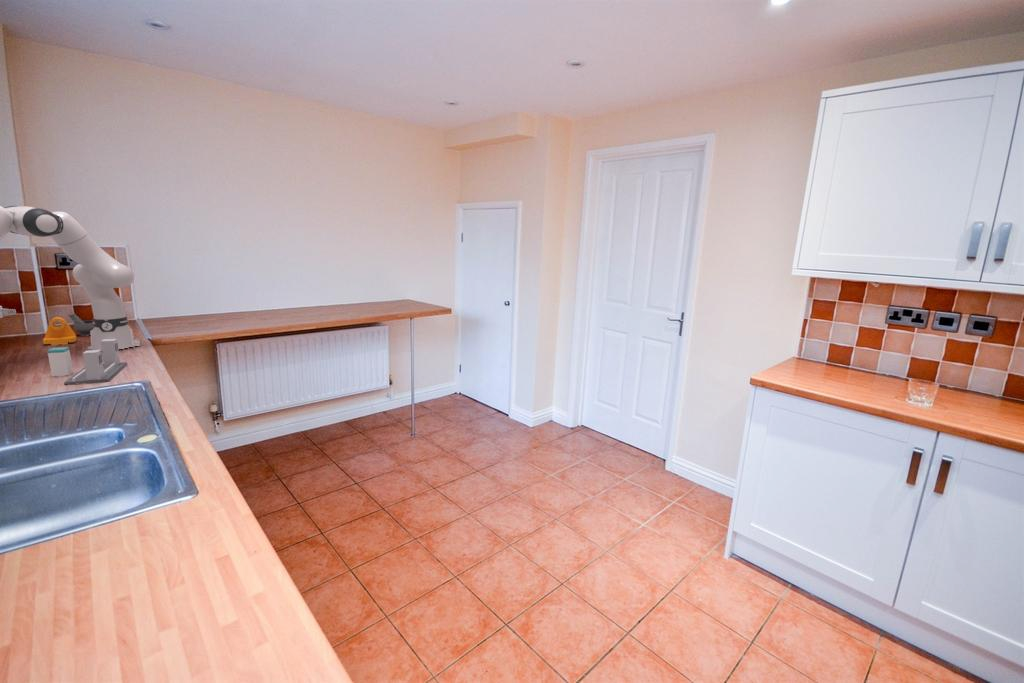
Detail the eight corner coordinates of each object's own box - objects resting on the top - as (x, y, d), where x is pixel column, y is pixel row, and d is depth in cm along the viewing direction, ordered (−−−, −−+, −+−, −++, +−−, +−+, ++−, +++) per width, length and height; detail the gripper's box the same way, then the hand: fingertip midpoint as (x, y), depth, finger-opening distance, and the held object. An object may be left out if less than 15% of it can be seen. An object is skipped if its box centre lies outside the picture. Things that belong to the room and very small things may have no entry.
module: (57, 373, 174) (52, 347, 172) (73, 372, 176) (68, 346, 174) (52, 376, 170) (47, 350, 168) (68, 375, 172) (64, 349, 170)
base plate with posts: (88, 367, 183) (84, 339, 181) (127, 364, 189) (123, 338, 186) (64, 385, 162) (59, 354, 159) (108, 381, 167) (104, 352, 165)
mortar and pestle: (101, 332, 242) (97, 310, 240) (101, 336, 235) (98, 312, 233) (71, 335, 235) (68, 311, 232) (71, 338, 228) (67, 314, 225)
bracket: (43, 346, 212) (38, 320, 210) (45, 342, 218) (41, 317, 215) (75, 343, 219) (71, 318, 216) (76, 340, 224) (73, 316, 222)
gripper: (-68, 307, 146) (-7, 308, 153) (-34, 301, 164) (20, 301, 171) (-66, 327, 148) (-4, 326, 154) (-32, 318, 165) (22, 318, 172)
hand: (9, 313), depth 163 cm, fingers open, 8 cm apart
